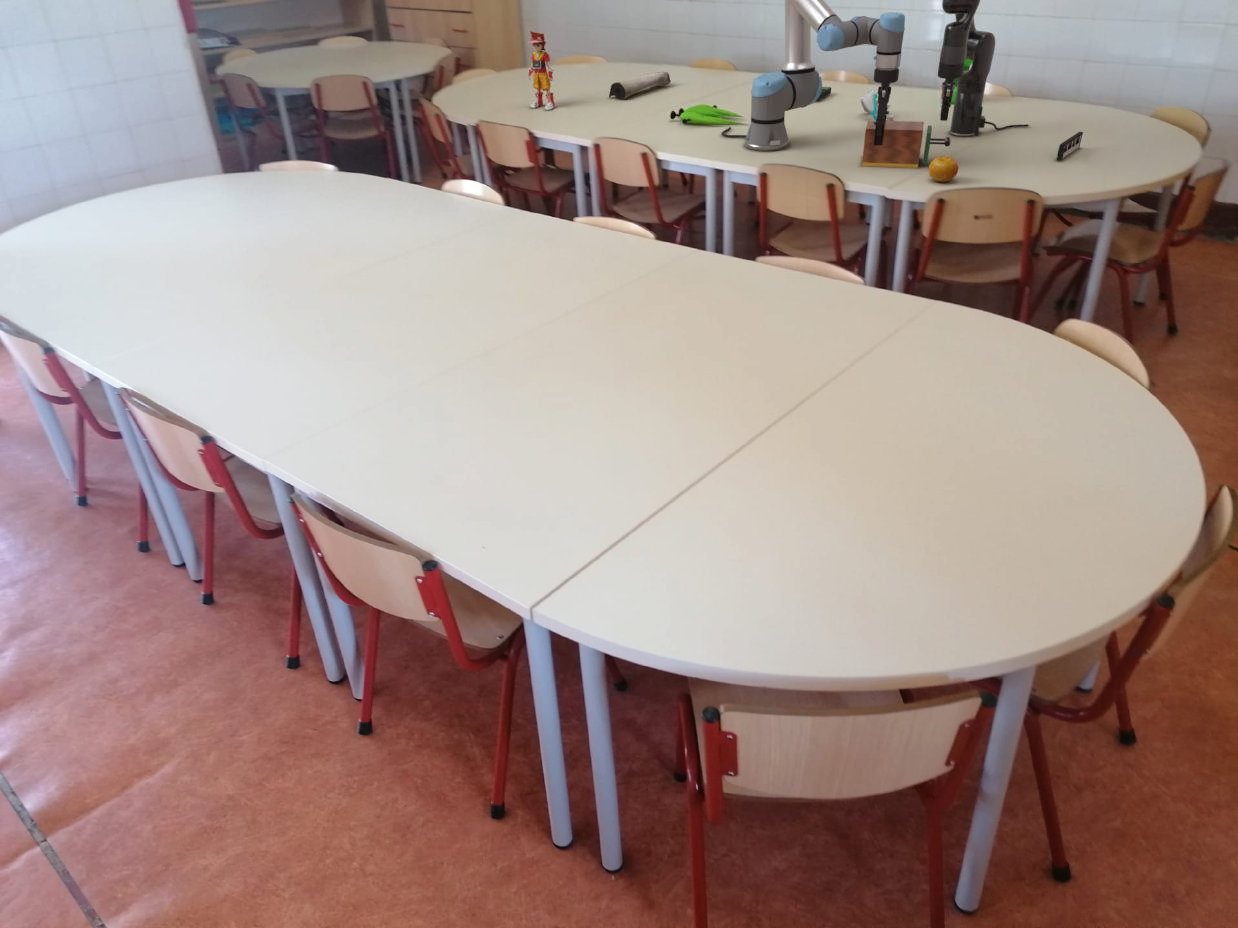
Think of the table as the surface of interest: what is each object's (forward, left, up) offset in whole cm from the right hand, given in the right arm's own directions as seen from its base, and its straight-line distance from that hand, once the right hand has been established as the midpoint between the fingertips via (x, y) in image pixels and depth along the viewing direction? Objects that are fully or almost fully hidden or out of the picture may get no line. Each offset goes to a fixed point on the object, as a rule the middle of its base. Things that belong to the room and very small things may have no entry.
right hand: (943, 118), depth 284 cm
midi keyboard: (-42, -11, -14) cm, 46 cm away
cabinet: (+15, -1, -14) cm, 20 cm away
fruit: (0, +18, -14) cm, 23 cm away
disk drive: (+42, -91, -14) cm, 101 cm away
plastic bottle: (-13, -82, -14) cm, 84 cm away
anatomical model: (+18, -59, -14) cm, 63 cm away
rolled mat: (+117, -103, -14) cm, 157 cm away
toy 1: (+155, -76, -14) cm, 173 cm away
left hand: (+19, -2, -7) cm, 20 cm away
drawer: (+8, -1, -13) cm, 16 cm away
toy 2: (+80, -53, -14) cm, 97 cm away
